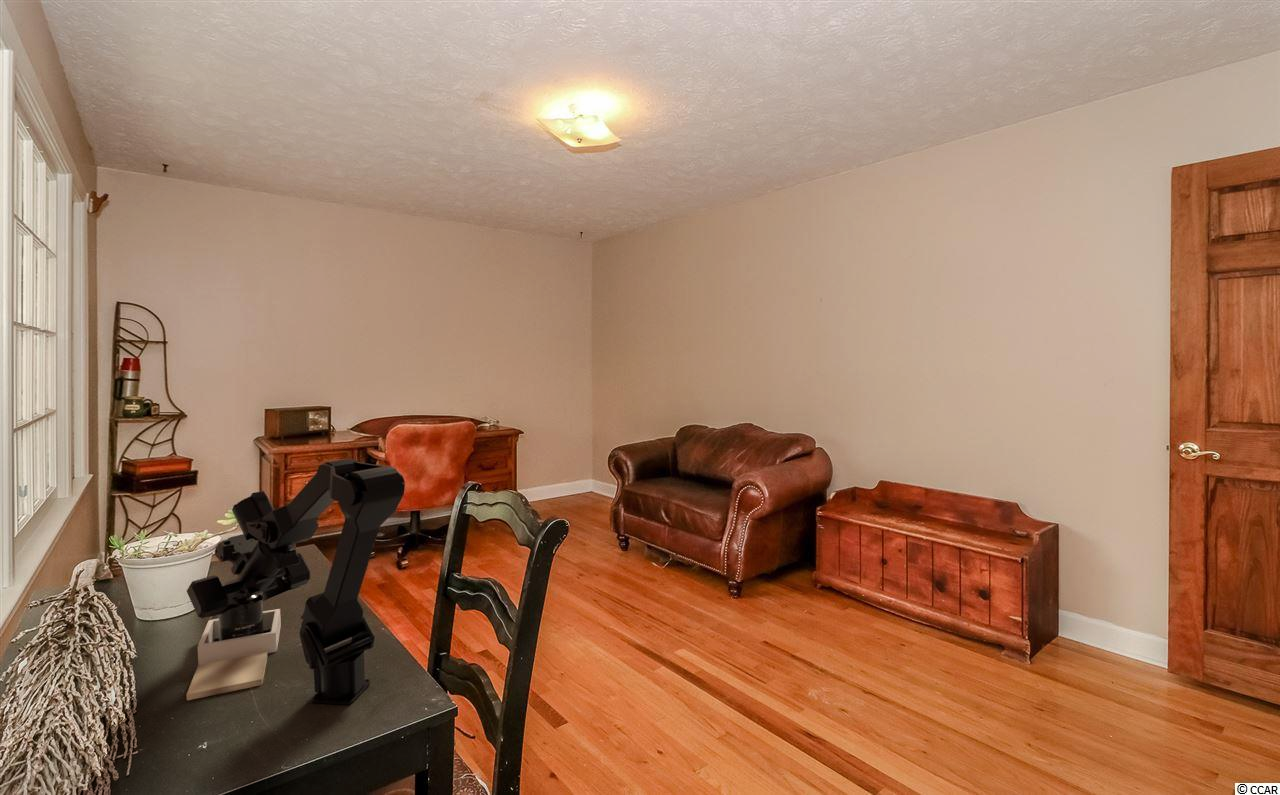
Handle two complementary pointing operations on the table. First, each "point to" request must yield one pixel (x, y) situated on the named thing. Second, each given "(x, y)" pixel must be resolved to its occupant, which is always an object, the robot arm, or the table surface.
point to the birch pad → (227, 676)
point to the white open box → (239, 641)
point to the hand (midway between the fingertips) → (237, 607)
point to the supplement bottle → (241, 616)
